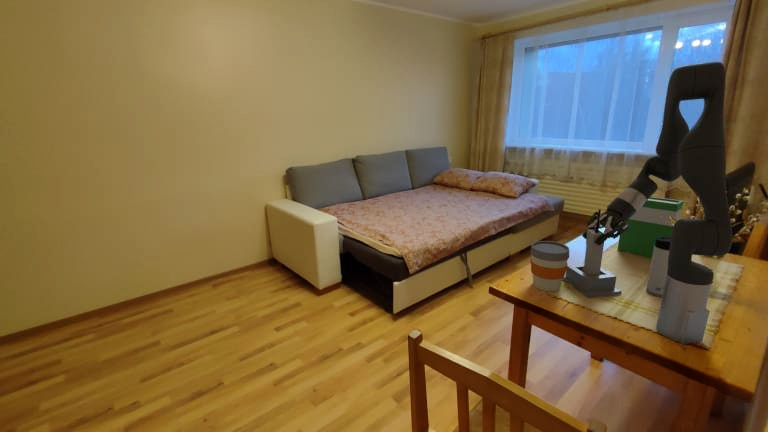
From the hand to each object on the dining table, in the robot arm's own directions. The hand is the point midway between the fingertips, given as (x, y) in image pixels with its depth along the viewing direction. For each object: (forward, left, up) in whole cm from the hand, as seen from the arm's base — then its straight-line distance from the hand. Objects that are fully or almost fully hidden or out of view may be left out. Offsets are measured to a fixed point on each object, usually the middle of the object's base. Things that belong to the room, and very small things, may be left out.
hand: (590, 240), depth 121 cm
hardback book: (+20, -43, -18) cm, 50 cm away
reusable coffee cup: (+3, +13, -18) cm, 22 cm away
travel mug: (-10, -20, -18) cm, 28 cm away
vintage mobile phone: (0, -2, -14) cm, 14 cm away
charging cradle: (0, -2, -17) cm, 17 cm away
